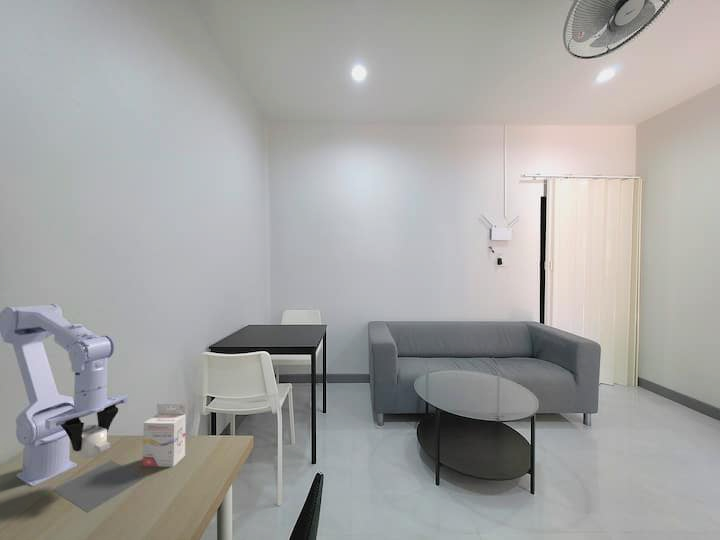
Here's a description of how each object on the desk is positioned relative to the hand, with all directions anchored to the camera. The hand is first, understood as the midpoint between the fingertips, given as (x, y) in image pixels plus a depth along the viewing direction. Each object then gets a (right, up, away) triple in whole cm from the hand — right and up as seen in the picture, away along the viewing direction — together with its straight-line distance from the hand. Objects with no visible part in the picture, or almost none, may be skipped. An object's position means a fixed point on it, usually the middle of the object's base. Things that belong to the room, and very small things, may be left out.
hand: (89, 444), depth 66 cm
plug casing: (+1, -1, -1) cm, 2 cm away
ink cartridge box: (+13, -10, +7) cm, 18 cm away
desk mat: (+3, -9, -1) cm, 10 cm away
